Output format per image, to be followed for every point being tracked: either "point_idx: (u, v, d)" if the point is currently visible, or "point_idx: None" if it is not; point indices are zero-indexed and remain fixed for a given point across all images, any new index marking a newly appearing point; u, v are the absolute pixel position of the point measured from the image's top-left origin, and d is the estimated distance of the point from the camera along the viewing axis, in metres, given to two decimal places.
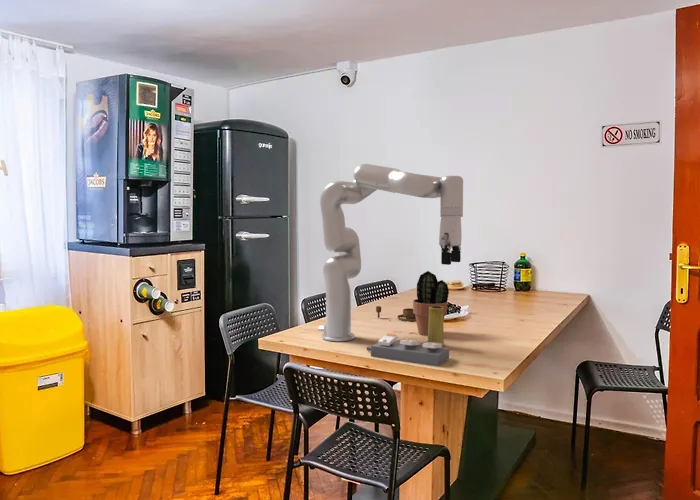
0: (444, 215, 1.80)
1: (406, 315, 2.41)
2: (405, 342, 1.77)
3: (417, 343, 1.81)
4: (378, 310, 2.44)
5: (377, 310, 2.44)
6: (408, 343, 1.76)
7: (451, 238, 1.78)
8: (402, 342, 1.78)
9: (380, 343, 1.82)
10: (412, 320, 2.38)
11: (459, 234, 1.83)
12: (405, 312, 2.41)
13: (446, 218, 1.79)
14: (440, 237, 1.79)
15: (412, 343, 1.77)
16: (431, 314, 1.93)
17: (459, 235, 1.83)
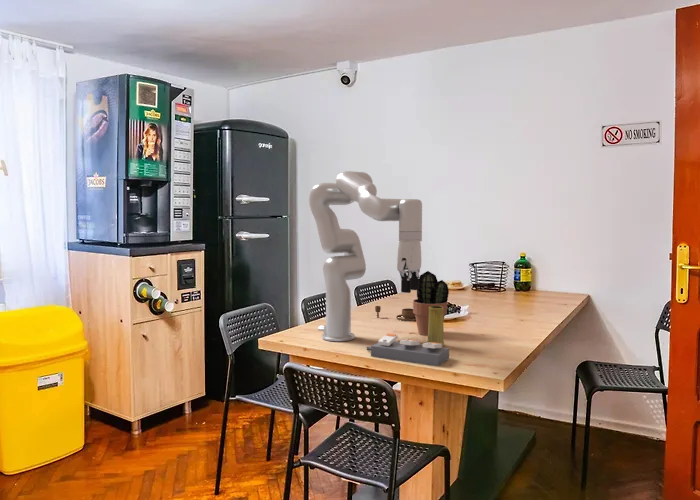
0: (402, 239, 1.75)
1: (405, 315, 2.41)
2: (405, 342, 1.77)
3: (417, 343, 1.81)
4: (377, 310, 2.45)
5: (376, 310, 2.46)
6: (408, 343, 1.76)
7: (409, 263, 1.73)
8: (402, 342, 1.78)
9: (380, 343, 1.82)
10: (410, 320, 2.38)
11: (418, 259, 1.78)
12: (404, 312, 2.42)
13: (403, 243, 1.74)
14: (398, 262, 1.75)
15: (412, 343, 1.77)
16: (431, 314, 1.93)
17: (418, 260, 1.78)
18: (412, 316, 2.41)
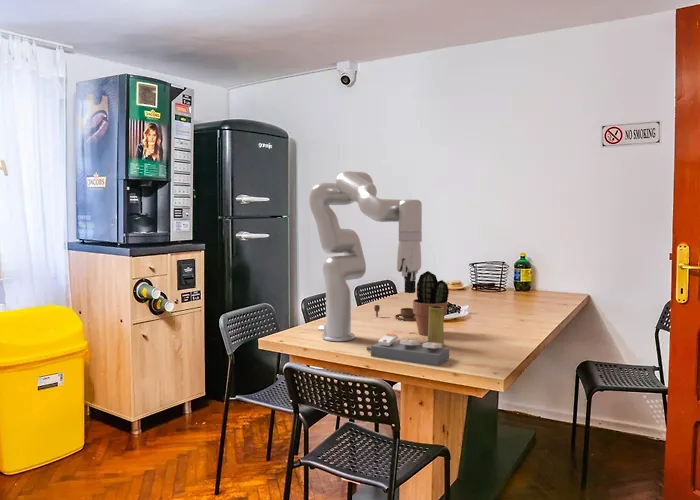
0: (402, 240, 1.75)
1: (403, 314, 2.42)
2: (405, 342, 1.77)
3: (417, 343, 1.81)
4: (376, 309, 2.47)
5: (375, 309, 2.48)
6: (408, 343, 1.76)
7: (409, 264, 1.73)
8: (402, 342, 1.78)
9: (380, 343, 1.82)
10: (408, 319, 2.39)
11: (418, 259, 1.78)
12: (402, 311, 2.43)
13: (403, 243, 1.74)
14: (398, 263, 1.74)
15: (412, 343, 1.77)
16: (431, 314, 1.93)
17: (418, 260, 1.78)
18: (410, 316, 2.42)
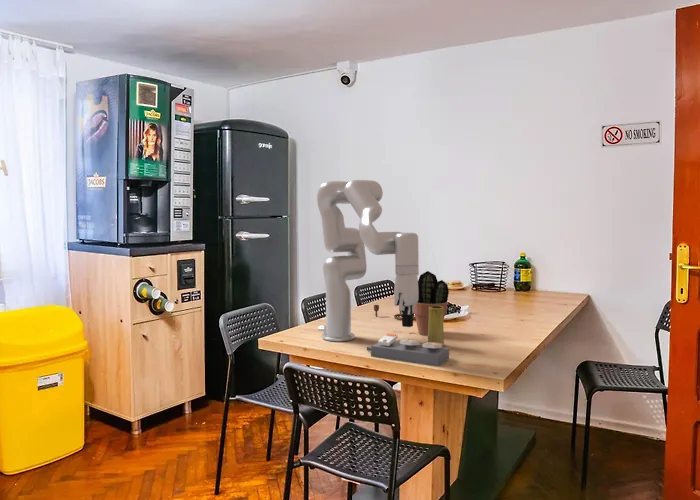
0: (399, 274, 1.73)
1: None
2: (405, 342, 1.77)
3: (417, 343, 1.81)
4: (375, 308, 2.48)
5: (374, 308, 2.48)
6: (408, 343, 1.76)
7: (406, 298, 1.71)
8: (402, 342, 1.78)
9: (380, 343, 1.82)
10: None
11: (415, 293, 1.76)
12: None
13: (400, 277, 1.72)
14: (395, 297, 1.73)
15: (412, 343, 1.77)
16: (431, 314, 1.93)
17: (415, 293, 1.76)
18: None
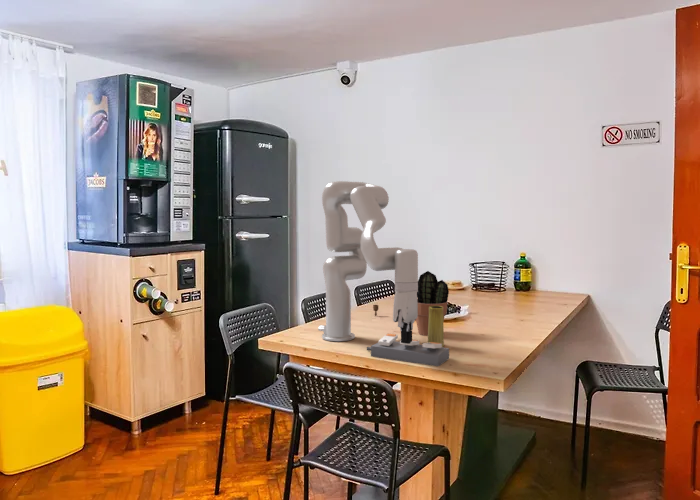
0: (398, 290, 1.74)
1: None
2: None
3: (417, 343, 1.81)
4: (375, 308, 2.49)
5: (374, 308, 2.49)
6: None
7: (405, 315, 1.71)
8: None
9: (380, 343, 1.82)
10: None
11: (415, 309, 1.77)
12: None
13: (399, 294, 1.72)
14: (394, 313, 1.73)
15: (412, 343, 1.77)
16: (431, 314, 1.93)
17: (414, 310, 1.76)
18: None
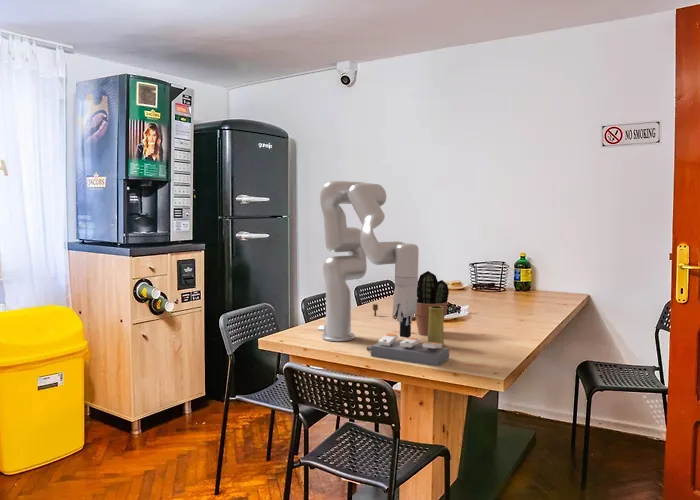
0: (398, 285, 1.74)
1: None
2: (405, 344, 1.77)
3: (417, 342, 1.81)
4: (374, 308, 2.50)
5: (373, 308, 2.50)
6: (408, 345, 1.76)
7: (404, 310, 1.72)
8: (402, 344, 1.78)
9: (380, 343, 1.82)
10: None
11: (414, 304, 1.77)
12: None
13: (399, 289, 1.73)
14: (393, 308, 1.74)
15: (412, 344, 1.77)
16: (431, 314, 1.93)
17: (414, 304, 1.77)
18: None
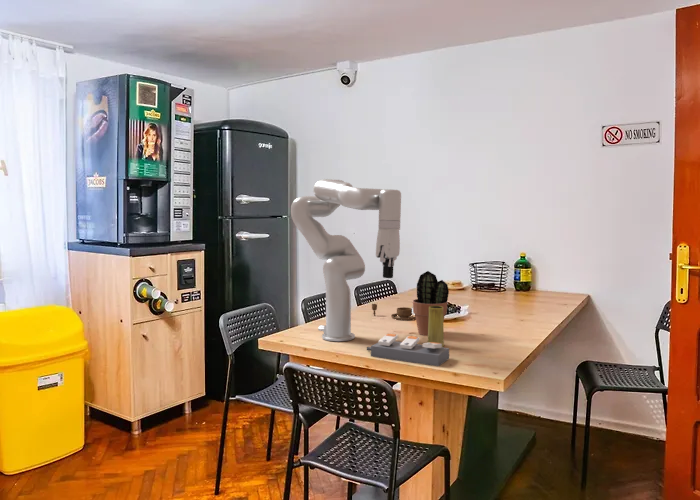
0: (381, 228, 1.85)
1: (398, 314, 2.44)
2: (405, 346, 1.77)
3: (417, 341, 1.81)
4: (373, 308, 2.50)
5: (372, 308, 2.51)
6: (408, 347, 1.77)
7: (386, 250, 1.83)
8: (402, 346, 1.78)
9: (380, 343, 1.82)
10: (402, 319, 2.41)
11: (396, 246, 1.88)
12: (398, 311, 2.44)
13: (382, 231, 1.83)
14: (376, 249, 1.84)
15: (412, 346, 1.77)
16: (431, 314, 1.93)
17: (396, 247, 1.88)
18: (405, 315, 2.43)
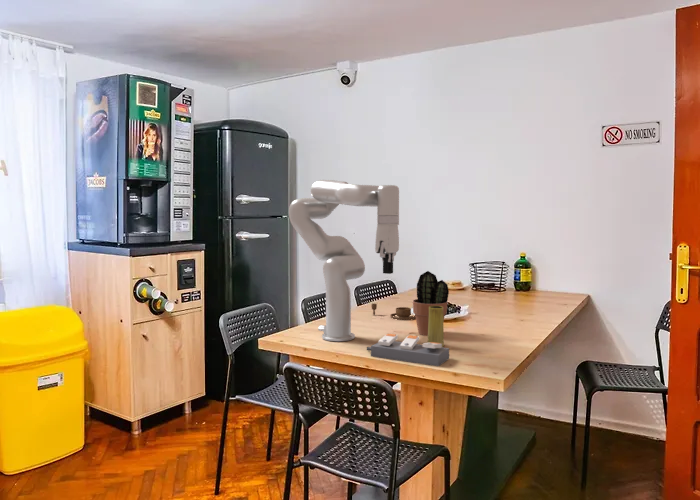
0: (380, 223, 1.85)
1: (397, 313, 2.45)
2: (405, 347, 1.77)
3: (417, 340, 1.81)
4: (373, 307, 2.52)
5: (372, 307, 2.52)
6: (408, 348, 1.77)
7: (386, 246, 1.83)
8: (402, 347, 1.78)
9: (380, 343, 1.82)
10: (401, 318, 2.41)
11: (396, 242, 1.88)
12: (396, 310, 2.45)
13: (381, 226, 1.84)
14: (376, 245, 1.85)
15: (412, 346, 1.77)
16: (431, 314, 1.93)
17: (396, 242, 1.88)
18: (404, 315, 2.44)
